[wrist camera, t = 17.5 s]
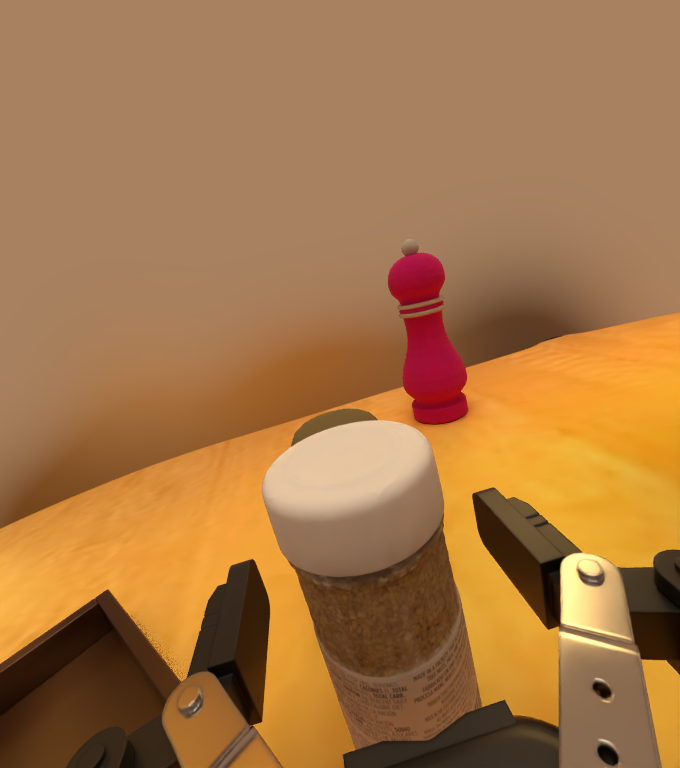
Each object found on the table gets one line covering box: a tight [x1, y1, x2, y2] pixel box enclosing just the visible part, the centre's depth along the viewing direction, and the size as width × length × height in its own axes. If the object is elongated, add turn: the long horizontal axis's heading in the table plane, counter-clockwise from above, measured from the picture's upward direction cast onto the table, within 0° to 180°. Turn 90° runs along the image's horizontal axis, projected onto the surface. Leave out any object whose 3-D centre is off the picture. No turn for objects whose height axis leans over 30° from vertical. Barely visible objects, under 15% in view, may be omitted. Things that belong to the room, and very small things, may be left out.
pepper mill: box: [388, 239, 468, 424], centre depth 41 cm, size 7×7×20 cm
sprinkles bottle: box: [262, 420, 482, 750], centre depth 11 cm, size 5×5×14 cm
